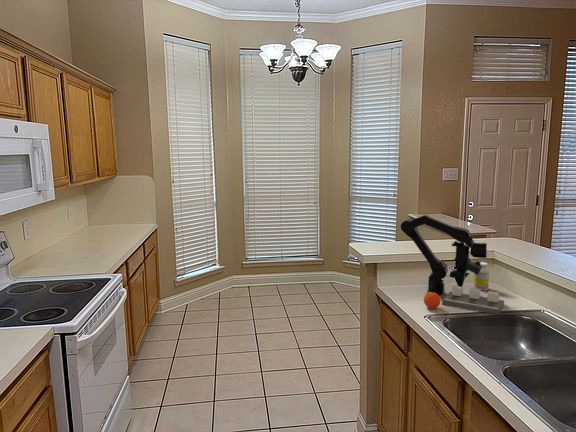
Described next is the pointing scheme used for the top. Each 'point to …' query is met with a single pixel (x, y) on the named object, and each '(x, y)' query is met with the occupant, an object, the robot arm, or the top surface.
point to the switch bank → (473, 303)
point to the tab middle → (474, 293)
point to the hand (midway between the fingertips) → (460, 288)
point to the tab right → (493, 296)
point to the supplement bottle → (482, 278)
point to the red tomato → (432, 300)
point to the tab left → (457, 290)
